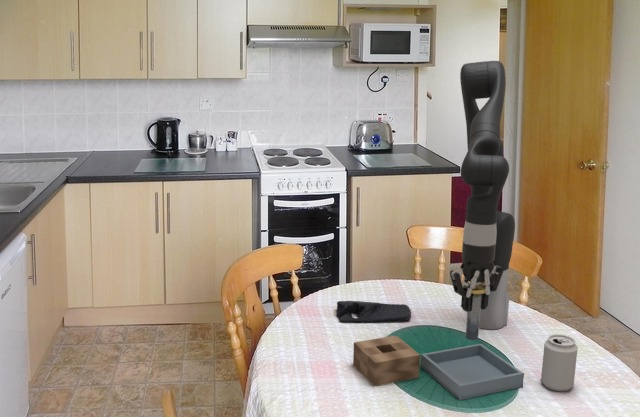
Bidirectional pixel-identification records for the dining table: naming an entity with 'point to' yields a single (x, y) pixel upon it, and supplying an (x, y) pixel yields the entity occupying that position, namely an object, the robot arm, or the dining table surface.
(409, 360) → the pin block
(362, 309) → the dark slate chunk
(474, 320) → the pin
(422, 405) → the dining table surface
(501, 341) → the dining table surface
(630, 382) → the dining table surface
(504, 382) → the tray
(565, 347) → the can
